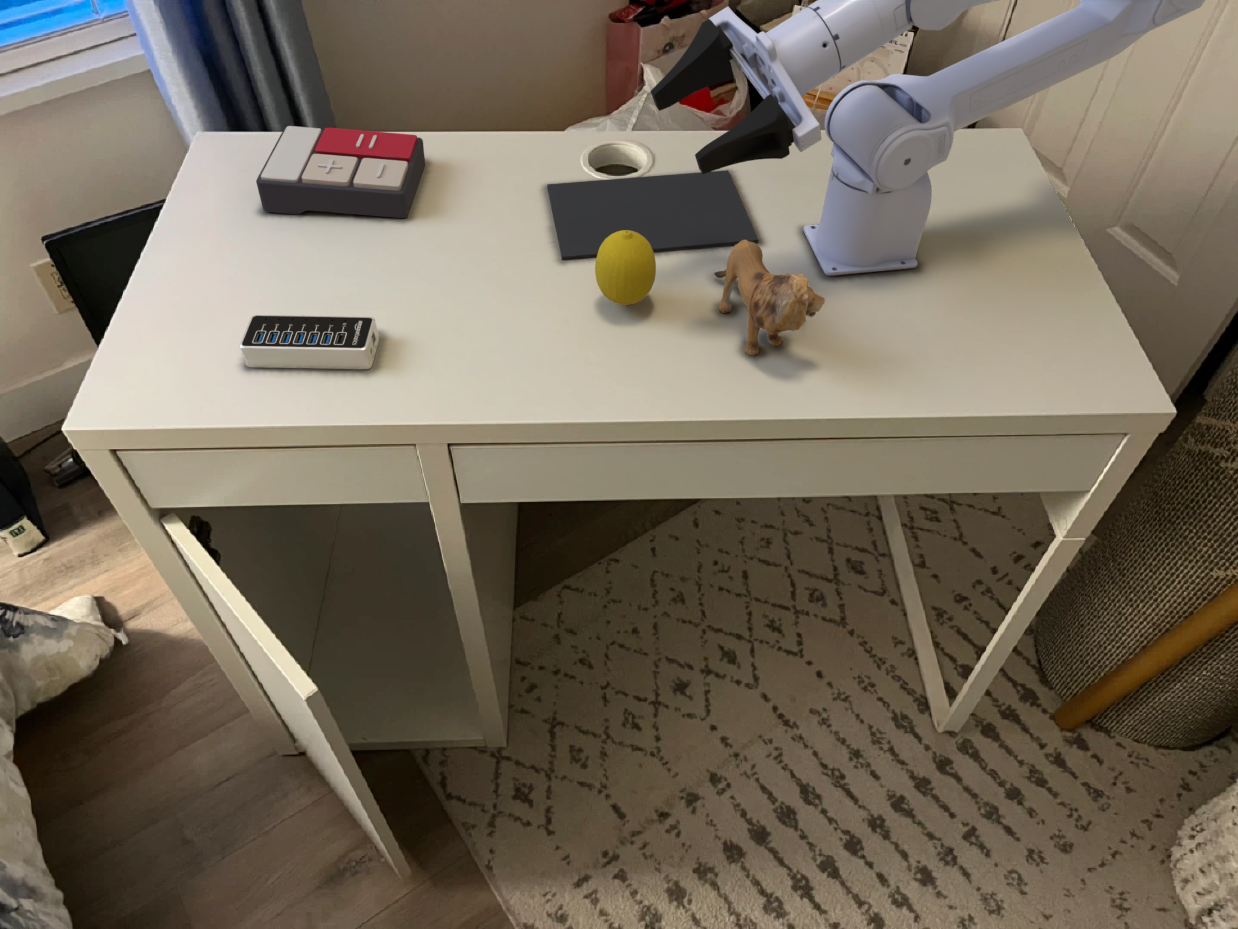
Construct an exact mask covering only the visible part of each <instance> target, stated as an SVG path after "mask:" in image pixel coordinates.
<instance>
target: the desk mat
mask: <svg viewBox="0 0 1238 929" xmlns="http://www.w3.org/2000/svg"><path fill="white" fill-rule="evenodd" d="M546 188H547V194H548V197H549V202H550V207H551V212H552V218H553V222H554V226H555V231H556V236H557V241H558V246H559V250H560V251H559V252H560V256H561V260H562V261H566V260H567V261H568V260H577V259H579V260H580V259H588V258H597V254H598V251H599V248H600V246H601V244H602V243H603V242H604V240H605V239H606V238H607V237H608V236H610V235H611V234H613V233H615V232H618V231H622V230H630V231H634V232H637V233H639V234H640V235H642V236H643V237H645V238H646V239H647V241H648V242H649V243H650V245H651V247H652V250H653V252H654V253H657V252H658V253H659V252H669V251H680V250H691V249H703V248H714V247H716V248H717V247H724V246H726V247H727V246H735V245H736V244H738V243H739V242H740V241H742V240H747V241H749V242H753V243H756V244H758V243H759V240H760V238H759V237H758V235H757V233H756V230H755V228H754V226H753V224H752V221H751V219H750V217H749V214H748V212H747V209H746V208H745V206H744V203H743V201H742V198H741V196H740V194H739V192H738V189H737V187H736V185H735V183H734V180H733V178H732V175H731V173H730V171H729V170H728V169H726V170H714V171H711V172H708V173H705V174H702V172H701V171H699V172H691V173H689V172H687V173H675V174H664V175H663V174H662V175H650V176H649V175H648V176H636V177H625V178H612V179H611V178H610V179H599V180H584V181H573V182H560V183H558V182H557V183H547V184H546Z"/></svg>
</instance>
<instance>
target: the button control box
mask: <svg viewBox="0 0 1238 929" xmlns="http://www.w3.org/2000/svg"><path fill="white" fill-rule="evenodd" d="M425 164H426V157H425V148H424V140H423V138H421V137H418V135H417V134H409V133H408V134H407V133H397V132H385V131H374V130H364V129H363V130H362V129H349V128H338V127H325V128H324V129H321V128H318V127H306V126H296V125H287V126H286V127H284V128H283V130H282V132H281V133H280V135H279V137H278V139H277V140H276V143H275V145H274V146H273V148H272V150H271V152H270V154H269V155H268V158H267V159H266V161H265V163H264V165H263V167H262V169H261V170H260V173H259V174H258V176H257V178H256V180H255V182H256V187H257V191H258V194H259V198H260V202H261V206H262V210H263V211H264V212H267V213H277V214H290V215H300V214H302V213H305V212H306V211H312V212H325V213H337V214H349V215H362V216H373V217H385V218H396V219H397V218H400V219H405V218H407V217H408V216H409V212H410V210H411V206H412V204H413V201H414V197H415V195H416V191H417V190H418V189H417V188H418V186H419V183H420V179H421V177H422V173H423V170H424V167H425Z"/></svg>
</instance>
